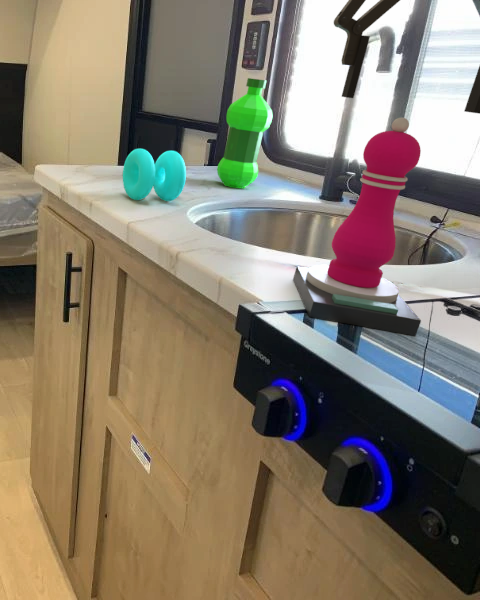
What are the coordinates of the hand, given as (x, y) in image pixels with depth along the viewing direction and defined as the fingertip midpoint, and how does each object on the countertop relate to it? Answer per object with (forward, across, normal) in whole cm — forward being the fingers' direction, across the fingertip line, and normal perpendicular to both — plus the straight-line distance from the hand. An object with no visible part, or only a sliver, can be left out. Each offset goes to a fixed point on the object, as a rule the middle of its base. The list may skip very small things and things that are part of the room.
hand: (408, 105), depth 68 cm
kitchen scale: (+24, 0, -2) cm, 24 cm away
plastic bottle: (+24, -11, +76) cm, 80 cm away
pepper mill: (+22, 0, 0) cm, 22 cm away
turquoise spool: (+24, -30, +43) cm, 58 cm away
